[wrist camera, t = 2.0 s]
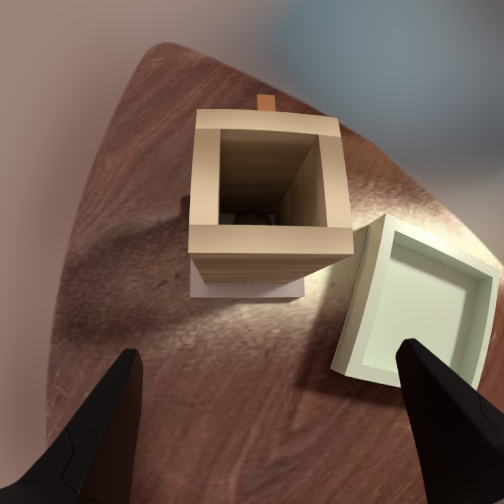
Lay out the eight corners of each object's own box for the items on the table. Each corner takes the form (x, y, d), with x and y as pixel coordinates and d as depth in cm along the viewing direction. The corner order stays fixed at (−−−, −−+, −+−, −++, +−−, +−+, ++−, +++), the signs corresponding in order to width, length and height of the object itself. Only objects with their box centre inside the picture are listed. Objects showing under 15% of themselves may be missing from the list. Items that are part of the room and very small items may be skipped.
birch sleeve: (290, 282, 22) (353, 253, 11) (204, 282, 21) (188, 252, 11) (286, 182, 23) (332, 91, 13) (207, 180, 23) (200, 81, 12)
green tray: (453, 393, 22) (473, 398, 19) (329, 368, 22) (344, 375, 19) (479, 274, 25) (499, 270, 22) (369, 224, 25) (386, 213, 22)
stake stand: (301, 297, 23) (319, 293, 18) (191, 297, 22) (184, 294, 18) (296, 195, 24) (312, 170, 20) (194, 192, 24) (189, 166, 19)
